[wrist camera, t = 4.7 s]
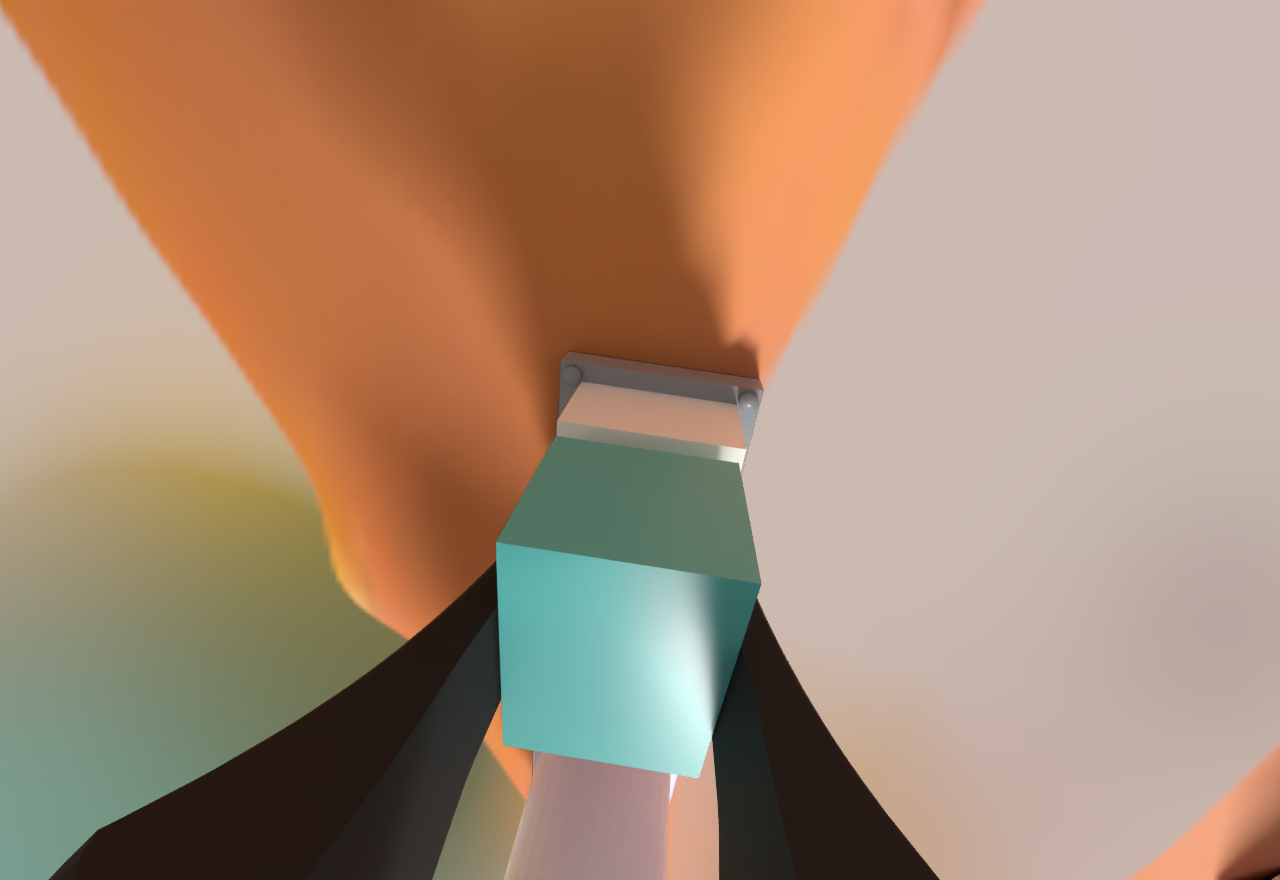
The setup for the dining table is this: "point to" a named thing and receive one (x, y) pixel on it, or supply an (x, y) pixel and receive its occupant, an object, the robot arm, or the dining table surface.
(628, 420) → the cream brick
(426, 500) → the dining table surface
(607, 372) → the baseplate
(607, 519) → the teal brick
